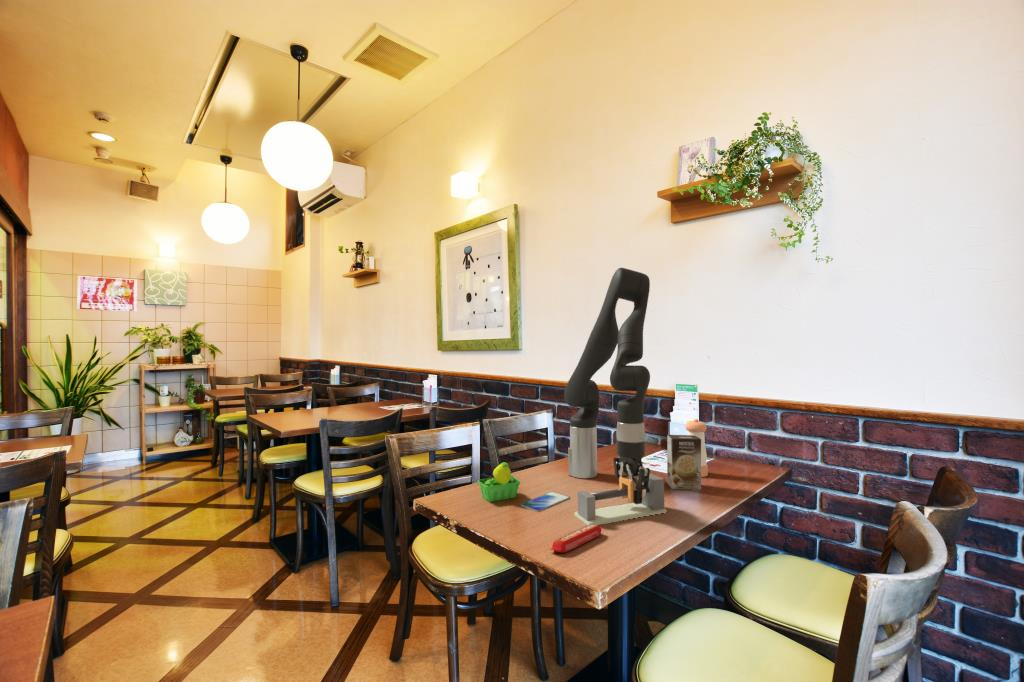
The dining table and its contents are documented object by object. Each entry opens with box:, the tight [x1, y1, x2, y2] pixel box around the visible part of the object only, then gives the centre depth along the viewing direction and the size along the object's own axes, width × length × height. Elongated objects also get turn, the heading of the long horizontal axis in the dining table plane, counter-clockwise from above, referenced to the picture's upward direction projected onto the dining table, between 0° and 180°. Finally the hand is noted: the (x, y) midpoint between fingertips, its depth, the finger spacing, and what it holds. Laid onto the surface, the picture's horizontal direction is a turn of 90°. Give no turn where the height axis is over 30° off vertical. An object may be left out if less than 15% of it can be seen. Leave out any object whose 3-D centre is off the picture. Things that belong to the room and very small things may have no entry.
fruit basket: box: [477, 462, 521, 503], centre depth 138 cm, size 11×9×11 cm
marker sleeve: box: [618, 476, 643, 504], centre depth 125 cm, size 4×5×6 cm
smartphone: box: [520, 491, 571, 513], centre depth 134 cm, size 7×1×15 cm
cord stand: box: [573, 472, 668, 526], centre depth 124 cm, size 24×8×9 cm, turn 110°
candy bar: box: [550, 525, 603, 553], centre depth 106 cm, size 16×4×3 cm, turn 133°
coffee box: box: [666, 434, 702, 491], centre depth 146 cm, size 9×6×16 cm
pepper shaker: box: [685, 418, 709, 478], centre depth 159 cm, size 7×7×19 cm
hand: (631, 499), depth 125 cm, fingers closed on marker sleeve, 5 cm apart
